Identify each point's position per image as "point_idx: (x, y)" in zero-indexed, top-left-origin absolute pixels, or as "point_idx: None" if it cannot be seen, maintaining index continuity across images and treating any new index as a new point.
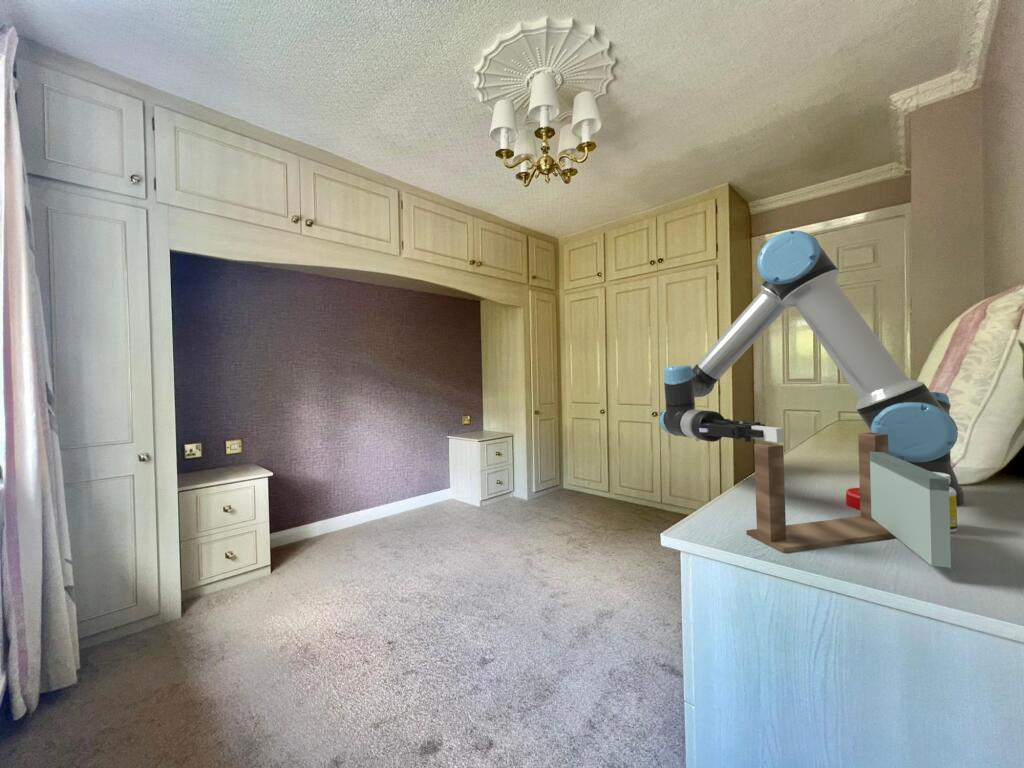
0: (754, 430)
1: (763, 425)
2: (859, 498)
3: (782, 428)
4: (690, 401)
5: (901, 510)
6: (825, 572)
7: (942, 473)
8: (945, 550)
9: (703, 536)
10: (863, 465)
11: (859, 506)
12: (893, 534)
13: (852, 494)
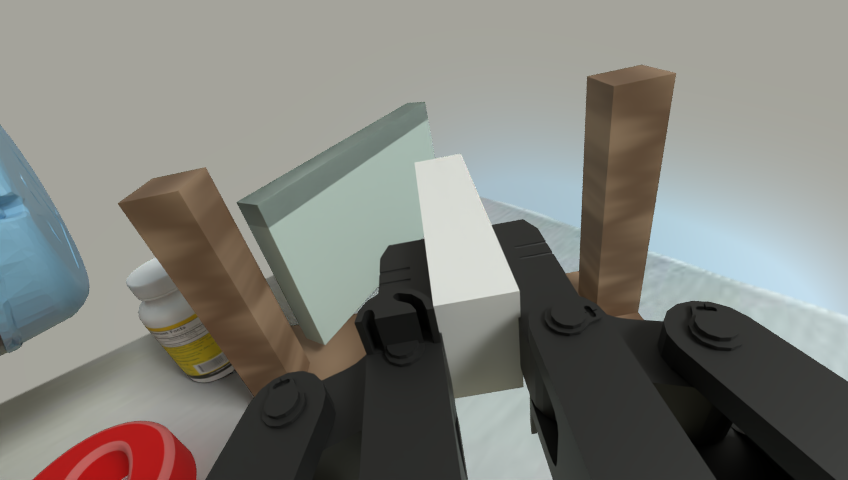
0: (544, 241)
1: (306, 374)
2: (169, 478)
3: (417, 162)
4: None
5: (394, 210)
6: (564, 233)
7: (138, 269)
8: None
9: (794, 344)
10: (240, 278)
11: None
12: None
13: None
